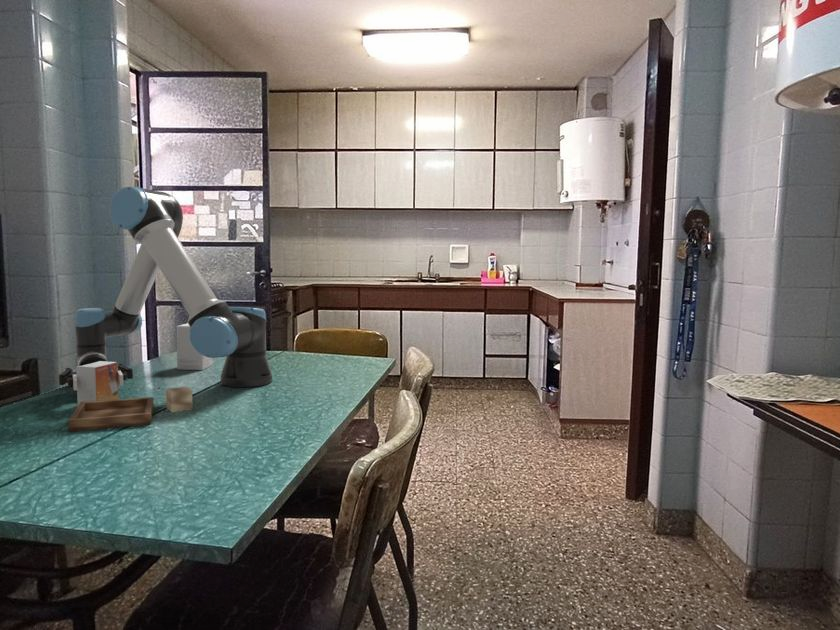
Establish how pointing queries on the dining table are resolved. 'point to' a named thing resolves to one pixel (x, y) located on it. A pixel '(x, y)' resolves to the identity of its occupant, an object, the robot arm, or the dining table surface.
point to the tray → (111, 414)
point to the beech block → (179, 399)
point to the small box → (97, 382)
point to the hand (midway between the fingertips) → (99, 382)
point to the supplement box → (189, 352)
